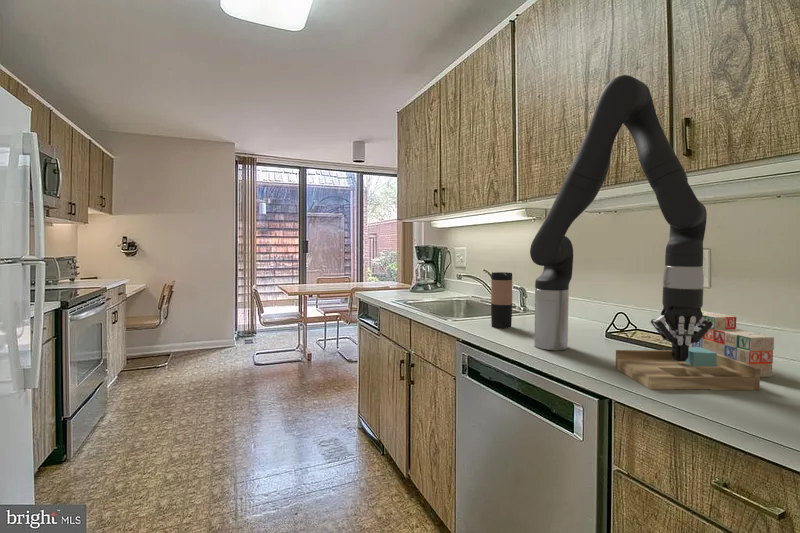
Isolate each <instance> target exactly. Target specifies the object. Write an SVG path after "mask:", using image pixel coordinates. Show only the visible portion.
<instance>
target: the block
mask: <svg viewBox="0 0 800 533" xmlns="http://www.w3.org/2000/svg"><path fill="white" fill-rule="evenodd" d="M716 359H717V353H715V352H712V351H709V350H707V349H704V348H701V347H689V352H688V358H687V359H686V361H683V362H685V363H688V364H690V365H692V366H716Z"/></svg>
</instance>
